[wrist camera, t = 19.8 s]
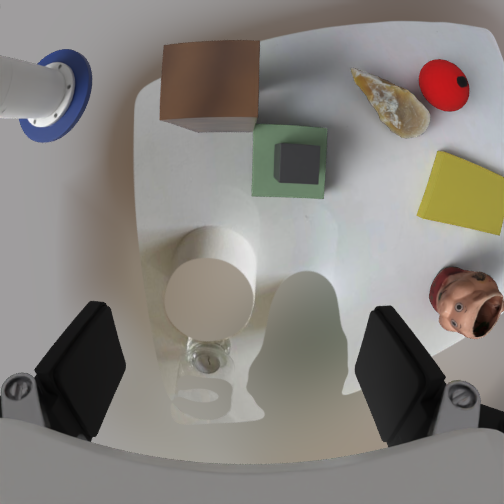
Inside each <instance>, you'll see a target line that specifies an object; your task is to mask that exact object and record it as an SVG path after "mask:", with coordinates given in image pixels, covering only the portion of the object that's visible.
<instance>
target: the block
mask: <svg viewBox="0 0 504 504" xmlns="http://www.w3.org/2000/svg"><path fill="white" fill-rule="evenodd" d="M319 166H320V146H318V145H305V144H290V143H279V144H275V145H274V176H273V177H274V178H275V179H276V180H277V181H278V182H279V183H293V184H312V185H318V184H319Z"/></svg>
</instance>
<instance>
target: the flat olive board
mask: <svg viewBox="0 0 504 504" xmlns="http://www.w3.org/2000/svg"><path fill="white" fill-rule="evenodd" d="M417 216H419V217H421V218H423V219H427V220H433V221H437V222H442V223H447V224H452V225H457V226H461V227H466V228H470V229H474V230H479V231H483V232H487V233H491V234H495V235H499V236H500V232H501V228H502V224H503V219H504V177H502V176H500V175H498V174H496V173H494V172H492V171H489V170H487V169H485V168H483V167H481V166H478V165H476V164H474V163H471V162H469V161H467V160H464V159H462V158H459V157H457V156H454V155H452V154H449V153H446V152H441V151H437V154H436V158H435V161H434V165H433V168H432V171H431V175H430V178H429V181H428V184H427V187H426V190H425V193H424V196H423V199H422V202H421V204H420V207H419V210H418V213H417Z"/></svg>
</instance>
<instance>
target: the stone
mask: <svg viewBox="0 0 504 504" xmlns="http://www.w3.org/2000/svg"><path fill="white" fill-rule="evenodd" d="M351 73H352V75H353V78H354V81H355V83H356V84H357V85H358V86H359V87H360V88H361V90H362V91H363V92H364V94H365V95H366V96H367V98H368V100H369V102H370V103H371V105H372V106H373V107H374V108H375V110H376V111H377V112H378V114H379V118H380V120H381V121H382V122H383V123H385V124H386V125H387V126H388V127H389V128H390V130H391V131H392V132H394V133H395V134H397V135H398V136H400V137H401V138H405V139H406V138H412V137H418V136H420V135H422V134H423V133H424V132H425V130H426V129H427V127H428V125H429V124H430V113H429V111H428V109H426V108H425V107H424V105H423V104H422V103H421V102H420V101H418V100H417V98H416V97H415V96H414V95H413V94H411V93H410V91H408V90H407V89H404V88H402V87H399V86H396V85H395V84H393V83H391V82H389V81H387V80H384V79H381V78H380V77H377V76H375V75H372V74H369V73H366V72H363V71H361V70H358V69H356V68H351Z"/></svg>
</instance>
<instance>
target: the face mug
mask: <svg viewBox="0 0 504 504" xmlns="http://www.w3.org/2000/svg"><path fill="white" fill-rule="evenodd" d="M429 299H430V302H431V304H432V306H433V308H434V309H435V310H436V311H437V312H438V313H439V314H440V316H439V323H440V325H441V326H442V327H443V328H444V329H446V330H448V331H453V332H458V333H460V334H463V335H464V336H465V337H467V338H472V339H478V338H482V337H484V336H485V335H487V334H488V333H489V332H490V331H491V330H492V328H493V327H494V326H495V324H496V322H497V320H498V318H499V316H500V314H501V312H503V311H504V299H503V295H502V294H501V293H500V292H499V290H498V287H497V284H496V282H495V281H494V280H493V278H492V277H490V276H489V275H487V274H485V273H483V272H474V271H468V270H462V269H460V268H458V267H447V268H444V269H443V270H442V271H441V272H439V274H438V275H437V276H436V277H435V279H434V281H433V283H432V285H431V288H430V294H429Z"/></svg>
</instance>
